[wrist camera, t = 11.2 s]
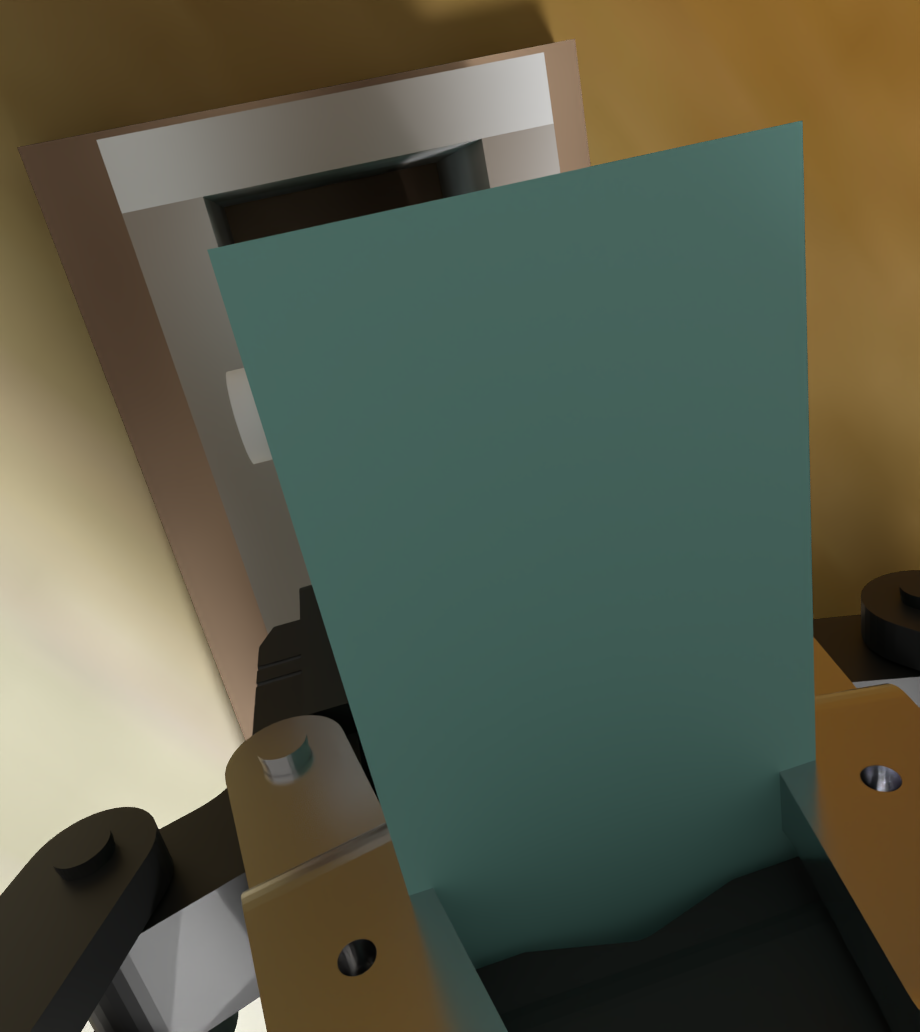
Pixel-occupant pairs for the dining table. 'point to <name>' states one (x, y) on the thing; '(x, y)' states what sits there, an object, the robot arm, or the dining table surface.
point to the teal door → (556, 523)
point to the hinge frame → (252, 215)
